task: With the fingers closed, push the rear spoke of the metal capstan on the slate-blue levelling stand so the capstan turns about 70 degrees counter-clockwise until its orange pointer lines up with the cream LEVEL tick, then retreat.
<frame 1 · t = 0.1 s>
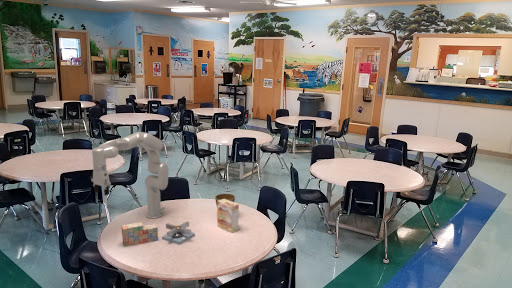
hand: (101, 193, 235), 31 cm above the table, fingers open, 9 cm apart
coffeecake box: (227, 228, 260), on the table
stand: (178, 237, 245), on the table
plant pot: (225, 216, 280), on the table
stack of blocks: (140, 242, 238), on the table
capstan: (178, 230, 244), point 5 cm above the table, hinge at 0.0°
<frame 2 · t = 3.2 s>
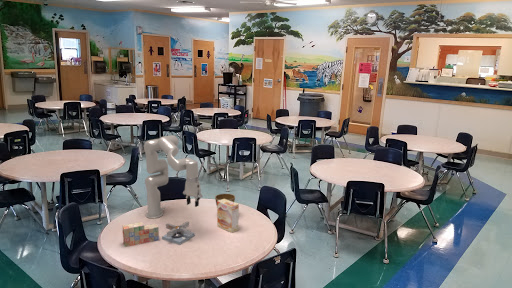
hand: (192, 204, 244), 22 cm above the table, fingers open, 6 cm apart
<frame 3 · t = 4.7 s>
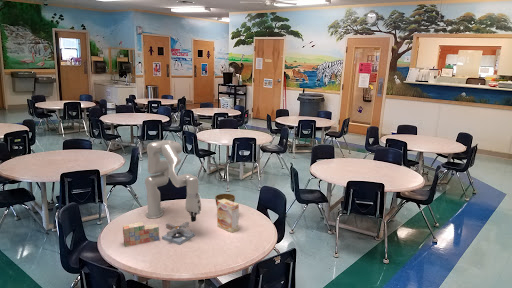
hand: (193, 221, 246), 10 cm above the table, fingers closed
nothing on the table moved.
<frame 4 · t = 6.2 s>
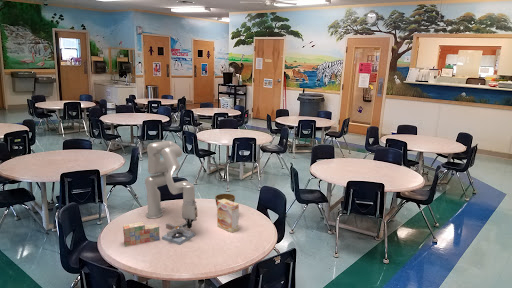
hand: (189, 227, 249), 5 cm above the table, fingers closed
capstan: (178, 230, 244), point 5 cm above the table, hinge at 0.4°, touching gripper
everything else where it was.
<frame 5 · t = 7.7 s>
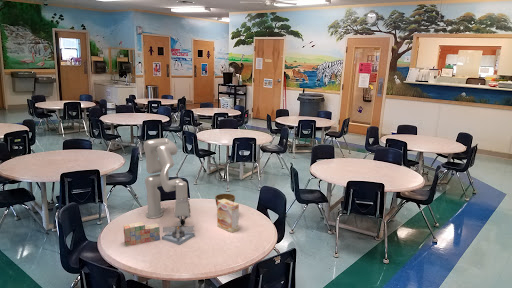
hand: (182, 225, 251), 5 cm above the table, fingers closed
capstan: (178, 230, 244), point 5 cm above the table, hinge at 39.3°, touching gripper
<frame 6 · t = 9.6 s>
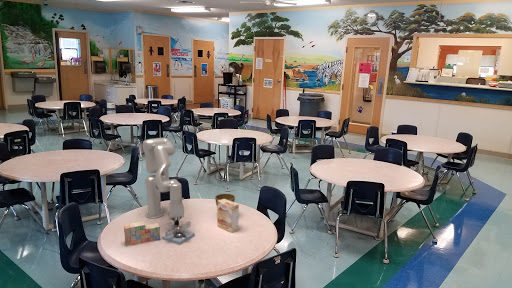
hand: (176, 226, 250), 5 cm above the table, fingers closed
capstan: (178, 230, 244), point 5 cm above the table, hinge at 81.5°
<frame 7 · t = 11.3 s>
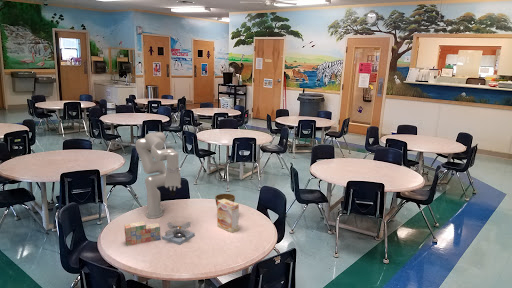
hand: (173, 195, 251), 25 cm above the table, fingers closed
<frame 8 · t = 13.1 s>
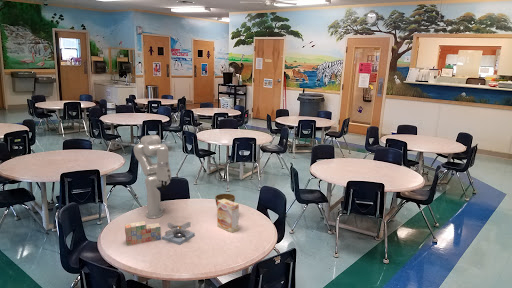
hand: (163, 189, 256), 27 cm above the table, fingers closed
at the end: capstan at +82° (first picture: +0°) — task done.
